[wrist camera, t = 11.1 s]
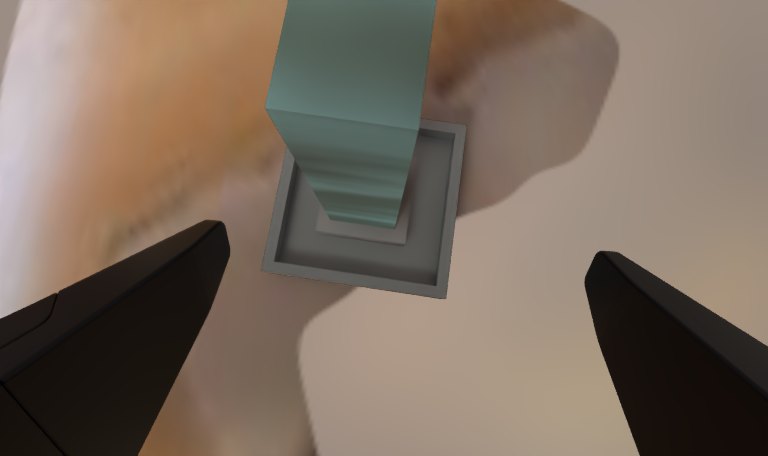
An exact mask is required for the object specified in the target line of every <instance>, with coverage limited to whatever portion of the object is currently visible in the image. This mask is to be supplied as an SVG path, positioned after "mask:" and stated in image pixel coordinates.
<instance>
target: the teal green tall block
mask: <svg viewBox="0 0 768 456" xmlns="http://www.w3.org/2000/svg"><path fill="white" fill-rule="evenodd" d="M436 1H437V0H288V4H287V9H286V13H285V18H284V22H283V27H282V31H281V36H280V40H279V45H278V50H277V54H276V59H275V63H274V68H273V72H272V77H271V82H270V86H269V91H268V95H267V100H266V104H265V109H266V111H267V113H268V114H269V116H270V118H271V119H272V121H273V123H274V124H275V126H276V128H277V130H278V131H279V133H280V135H281V136H282V138H283V140H284V142H285V143H286V145H287V147H288V148H289V150H290V152H291V154H292V155H293V157H294V159H295V160H296V162H297V164H298V166H299V167H300V169H301V171H302V172H303V174H304V176H305V178H306V179H307V181H308V183H309V184H310V186H311V188H312V190H313V191H314V193H315V195H316V196H317V198H318V200H319V202H320V209H319V214H318V220H317V225H316V231H317V233H318V234H322V235H329V236H336V237H343V238H349V239H356V240H363V241H370V242H377V243H383V244H390V245H397V246H404V245H405V242H406V234H407V227H408V220H409V212H410V205H411V198H412V191H413V183H414V176H415V169H416V161H417V158H412V155H413V151H414V147H415V143H416V139H417V135H418V130H419V124H420V116H421V109H422V102H423V95H424V87H425V80H426V73H427V66H428V59H429V51H430V44H431V37H432V30H433V22H434V15H435V8H436Z"/></svg>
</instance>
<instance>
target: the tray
mask: <svg viewBox="0 0 768 456" xmlns="http://www.w3.org/2000/svg"><path fill="white" fill-rule="evenodd" d="M466 126H467V125H461V124H455V123H448V122H441V121H434V120H427V119H421V118H420V124H419V130H418V135H417V139H416V143H415V147H414V151H413V155H412V158H417V161H416V169H415V176H414V183H413V191H412V198H411V205H410V212H409V220H408V227H407V234H406V242H405V245H404V246H397V245H390V244H383V243H377V242H370V241H363V240H356V239H349V238H343V237H336V236H329V235H322V234H318V233H317V231H316V225H317V220H318V214H319V209H320V202H319V200H318V198H317V196H316V195H315V193H314V191H313V190H312V188H311V186H310V184H309V183H308V181H307V179H306V178H305V176H304V174H303V172H302V171H301V169H300V167H299V166H298V164H297V162H296V160H295V159H294V157H293V155H292V154H291V152H290V150H289V148H288V147H286V152H285V157H284V162H283V166H282V171H281V176H280V181H279V186H278V190H277V195H276V200H275V205H274V210H273V215H272V219H271V224H270V229H269V234H268V239H267V243H266V248H265V253H264V258H263V263H262V268H261V271H264V272H268V273H274V274H280V275H287V276H294V277H300V278H307V279H313V280H320V281H326V282H333V283H340V284H346V285H353V286H359V287H366V288H372V289H379V290H386V291H392V292H399V293H406V294H412V295H419V296H425V297H432V298H439V299H446V295H447V287H448V278H449V270H450V262H451V253H452V244H453V236H454V228H455V219H456V211H457V202H458V194H459V185H460V177H461V169H462V160H463V152H464V143H465V135H466Z"/></svg>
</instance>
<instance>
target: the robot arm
mask: <svg viewBox="0 0 768 456" xmlns="http://www.w3.org/2000/svg"><path fill="white" fill-rule="evenodd" d="M229 257H230V245H229V240H228V236H227V232H226V227H225V225H224V223H223V222H222V221H216V220H204V221H202V222H200V223H198V224H196V225H194V226H192V227H190V228H187V229H185V230H183V231H181V232H179V233H177V234H175V235H173V236H171V237H169V238H167V239H165V240H163V241H161V242H159V243H157V244H155V245H153V246H151V247H148V248H146V249H144V250H142V251H140V252H138V253H136V254H134V255H132V256H130V257H128V258H126V259H124V260H122V261H120V262H118V263H116V264H114V265H112V266H109V267H107V268H105V269H103V270H101V271H99V272H97V273H95V274H93V275H91V276H89V277H87V278H85V279H83V280H81V281H79V282H77V283H75V284H73V285H70V286H68V287H66V288H64V289H62V290H60V291H59V292H58V294H57V293H54V294H52V295H50V296H48V297H46V298H44V299H42V300H40V301H38V302H35V303H33V304H31V305H29V306H27V307H25V308H23V309H21V310H18V311H16V312H14V313H12V314H10V315H8V316H6V317H3V318H1V319H0V456H138V454H139V452H140V450H141V448H142V446H143V444H144V442H145V440H146V438H147V436H148V434H149V432H150V430H151V428H152V426H153V424H154V422H155V420H156V418H157V416H158V414H159V412H160V410H161V408H162V406H163V404H164V402H165V400H166V398H167V396H168V394H169V392H170V390H171V388H172V386H173V384H174V382H175V380H176V378H177V376H178V374H179V372H180V370H181V368H182V366H183V364H184V362H185V360H186V358H187V356H188V354H189V352H190V350H191V348H192V346H193V344H194V342H195V340H196V338H197V336H198V334H199V332H200V330H201V328H202V326H203V324H204V322H205V320H206V318H207V316H208V313H209V311H210V309H211V307H212V304H213V302H214V299H215V296H216V293H217V291H218V288H219V285H220V282H221V279H222V277H223V274H224V271H225V268H226V265H227V263H228V260H229ZM585 289H586V294H587V298H588V302H589V306H590V310H591V315H592V319H593V323H594V327H595V331H596V335H597V339H598V342H599V345H600V348H601V351H602V354H603V357H604V359H605V362H606V365H607V367H608V370H609V373H610V376H611V378H612V381H613V384H614V387H615V389H616V392H617V395H618V397H619V400H620V403H621V406H622V408H623V411H624V414H625V417H626V419H627V422H628V425H629V428H630V430H631V433H632V436H633V438H634V441H635V444H636V447H637V449H638V452H639V455H640V456H768V346H766V345H765V344H763V343H761V342H760V341H758V340H757V339H755V338H753V337H752V336H750V335H749V334H747V333H746V332H744V331H742V330H741V329H739V328H737V327H736V326H734V325H733V324H731V323H730V322H728V321H727V320H725V319H723V318H722V317H720V316H719V315H717V314H715V313H714V312H712V311H711V310H709V309H707V308H706V307H704V306H703V305H701V304H699V303H698V302H696V301H694V300H693V299H692V298H690V297H688V296H687V295H685V294H684V293H682V292H680V291H679V290H677V289H676V288H674V287H672V286H671V285H669V284H668V283H666V282H665V281H663V280H661V279H660V278H658V277H657V276H655V275H653V274H652V273H650V272H649V271H647V270H645V269H644V268H642V267H641V266H639V265H638V264H636V263H634V262H633V261H631V260H629V259H628V258H626V257H625V256H623V255H622V254H620V253H618V252H613V251H599V252H598V253H596V255H595V257H594V259H593V261H592V263H591V265H590V268H589V270H588V272H587V274H586V276H585Z"/></svg>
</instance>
